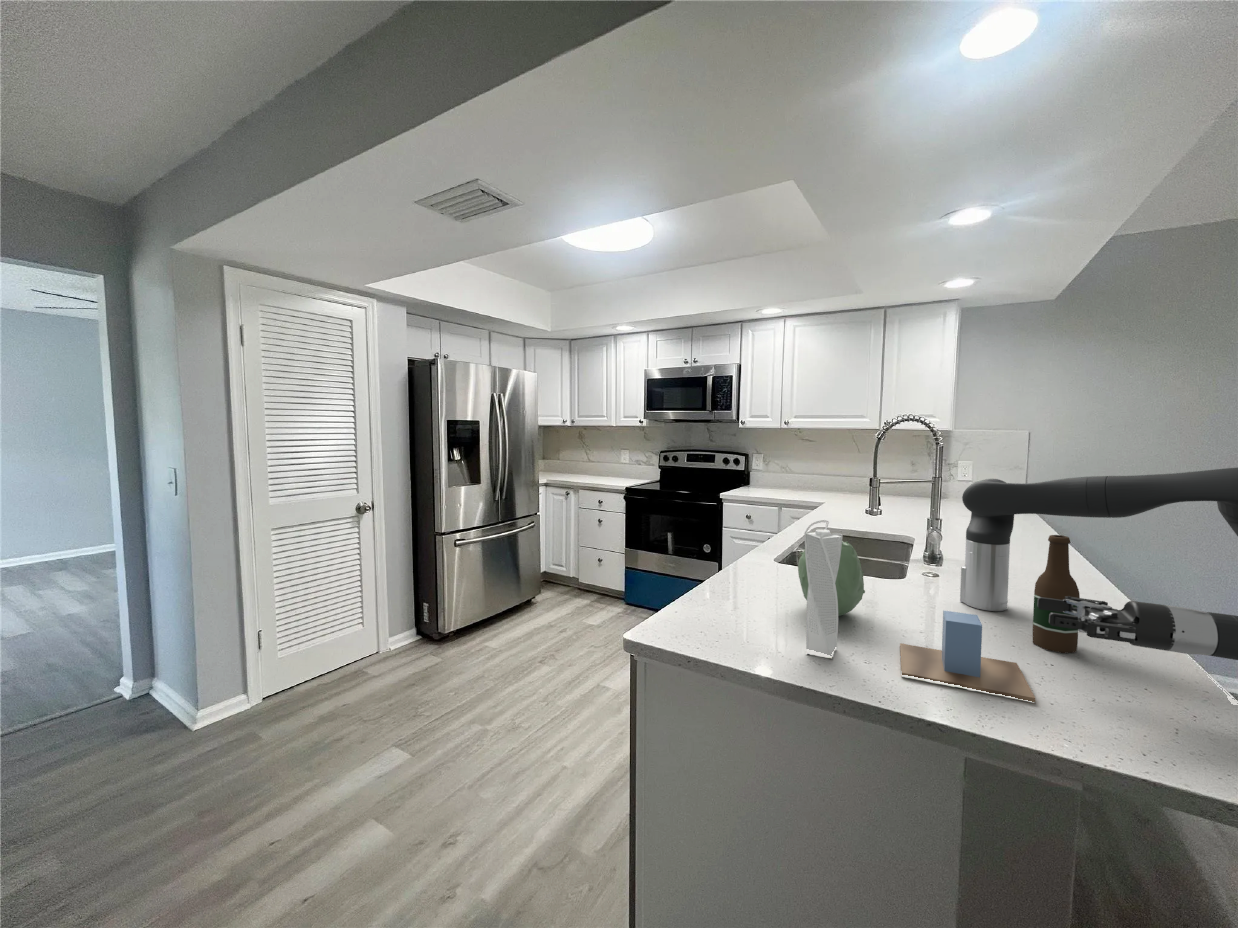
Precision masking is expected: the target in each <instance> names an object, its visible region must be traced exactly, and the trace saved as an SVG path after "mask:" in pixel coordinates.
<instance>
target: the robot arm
mask: <svg viewBox="0 0 1238 928" xmlns="http://www.w3.org/2000/svg"><path fill="white" fill-rule="evenodd" d="M961 499H962V503H963V505H964V507H965V508H966V509H967V511H969V512H970V513H971V515H970V521H969V524H968V526H967V528H966V531H965V551H964V552H965V554H964V555H965V556H964V561H965V562H964V566H963V565H962V566H961V568H960V587H959V589H960V592H959V593H960V594H959V602H960V603H964V604H965V605H967V606H968V607H972V608H974V609H977V610H982V611H990V612H1003V611H1007V609H1008V603H1009V597H1008V596H1009V579H1010V578H1009V576H1010V575H1009V574H1010V572H1009V571H1010V555H1011V553H1010V549H1011V547H1010V546H1011V536H1012V533H1013V531H1014V524H1015V523H1014V521H1015V515H1031V514H1032V515H1046V516H1047V515H1049V516H1059V517H1074V518H1075V517H1077V518H1079V517H1080V518H1104V519H1105V518H1106V519H1107V518H1108V519H1110V518H1113V519H1116V518H1117V519H1119V518H1128V517H1132V516H1136V515H1140V514H1143V513H1146V512H1148V511H1152V510H1154V509H1157V508H1160V507H1163V506H1166V505H1172V504H1177V503H1186V502H1216V504H1217V509H1218V511H1219V513H1220V515H1221V516H1222V518H1224V520H1225V522H1226V523H1227V524H1228V526H1229V527H1230V529H1231V530H1232V531H1233V532H1234V534H1235V535H1236V536H1237V537H1238V467H1228V468H1227V467H1226V468H1216V469H1207V470H1198V471H1197V470H1196V471H1187V472H1176V473H1175V472H1174V473H1157V474H1156V473H1155V474H1141V475H1140V474H1139V475H1138V474H1137V475H1136V474H1135V475H1099V476H1098V475H1097V476H1095V475H1094V476H1092V475H1091V476H1078V477H1077V476H1076V477H1069V478H1061V479H1060V478H1059V479H1052V480H1045V481H1040V482H1039V481H1038V482H1030V483H1028V482H1027V483H1019V482H1018V483H1016V482H1015V483H1014V482H1010V483H1009V482H1006V481H1004V480H1001V479H998V478H986V479H982V480H979V481H975V482H973V483H971V484H970V485H968V486H967V488H966V489H965V490H964V491H963V494H962V497H961ZM1073 605H1076V606H1077V607H1078V608H1076V607H1073ZM1037 606H1038V608H1039V609H1042V610H1049V611H1056V612H1064V613H1068V614H1071V615H1067V614H1060V613H1050V614H1049V623H1050V625H1052V626H1057V627H1063V628H1070V629H1078V632H1079V633H1082V634H1086V636H1087V637H1089V638H1092V639H1093V638H1094V639H1100V640H1108V641H1115V642H1123V643H1128V644H1130V645H1131V646H1135V647H1141V648H1147V649H1155V650H1160V651H1166V652H1172V653H1179V654H1185V655H1193V656H1194V655H1197V656H1199V655H1200V656H1209V657H1214V658H1215V657H1216V658H1223V659H1227V660H1228V659H1229V660H1233V661H1238V615H1235V614H1228V613H1227V614H1226V613H1219V612H1218V613H1217V612H1211V611H1203V610H1197V609H1193V608H1190V607H1189V608H1188V607H1184V606H1174V605H1169V604H1166V605H1165V604H1160V603H1159V604H1158V603H1152V602H1143V601H1135V600H1129V601H1127V602H1125V604H1124V605H1123V608H1121V609H1117V608H1113V607H1112V606H1110V605H1109V603H1108V602H1107V601H1105V600H1096V599H1089V598H1082V597H1080V598H1076V597H1070V596H1065V599H1063V600H1059V599H1052V598H1044V597H1039V598H1038V601H1037Z"/></svg>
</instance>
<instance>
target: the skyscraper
mask: <svg viewBox="0 0 1238 928" xmlns="http://www.w3.org/2000/svg"><path fill="white" fill-rule="evenodd" d="M821 523H826V524H825V527H824V529H821V528H818V529H815V532H808V531H809V530H810V529H811V527H813V526H815V525H818V524H821ZM829 523H830V522H829V520H825V519H824V520H817V521H814V522H811V524H810V525H808V527H807V528H806V529H805V531H804V550H805V556H806V569H807V577H808V583H809V586H808V595H807V600H806V613H805V614H806V617H805V620H806V621H805V625H806V626H805V628H806V629H805V630H806V631H805V637H806V638H805V639H806V641H805V642H806V643H805V644H806V647H805V648H806V649H809V650H814V651H816V652H821V653H824V654H827V655H830V656H832V655H831V654H832V652H833V651H834V649H835V647H837V648H838V634H839V633H838V631H839V616H838V600H837V591H836V585H835V582H836V578H837V573H838V568H839V562H840V555H841V546H842V541H843V534H842V533H840V532H832V533H831V530H829V529H828V527H829ZM806 649H805V650H806Z"/></svg>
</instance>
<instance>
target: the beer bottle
mask: <svg viewBox="0 0 1238 928" xmlns="http://www.w3.org/2000/svg"><path fill="white" fill-rule="evenodd" d="M1047 541H1048V542H1049V546H1048V553H1047V560H1046V561H1047V562H1046V567H1045V569H1044V571H1043V573H1041V574H1040V575H1039V576H1038V578H1037V579H1036V581H1035V583H1034V591H1033V593H1034V594H1033V595H1034V596H1033V609H1032V610H1033V611H1032V613H1033V614H1032V615H1033V616H1032V643H1033V645H1035V646H1037V647H1039V648H1041V649H1043V650H1046V651H1048V652H1049V651H1051V652H1055V653H1058V654H1059V653H1060V654H1076V653H1077V650H1078V644H1079V643H1078V642H1079V631H1078V629H1070V628H1063V627H1057V626H1052V625H1050V623H1049V614H1050V613H1060V614H1067V615H1071V614H1068V613H1064V612H1056V611H1049V610H1042V609H1039V608H1038V606H1037V601H1038V598H1039V597H1044V598H1052V599H1059V600H1063V599H1065V596H1070V597H1076V598H1081V596H1080V594H1081V593H1080V591H1079V590H1080V589H1079V587H1078V585H1077V582H1076V580H1075V579H1074V578H1073V576H1072V575H1071V572H1070V550H1069V549H1070V548H1069V547H1070V545H1069V544H1071V539H1070V537H1069V536H1065V535H1060V534H1050V535H1049V536H1048V538H1047ZM1073 607H1076V608H1078V607H1077V606H1076V605H1073Z"/></svg>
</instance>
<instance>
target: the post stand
mask: <svg viewBox="0 0 1238 928" xmlns="http://www.w3.org/2000/svg"><path fill="white" fill-rule="evenodd" d="M899 653H900V656H901V658H900V672H901V671H902V675H908V676H914V677H918V678H924V679H930V680H933V681H940V682H944V683H948V684H954V685H960V686H962V687H967V688H972V689H976V690H981V691H986V692H989V693H995V694H1002V695H1005V696H1011V697H1015V698H1018V699H1023V700H1028V701H1032V702H1035V703H1036V696H1035V695H1034V693H1033V690H1032V689H1031V686H1030V685H1029V683H1028V682H1027V679H1026V677H1025V676H1024V674H1023V672H1022V671H1021V669H1020V667H1019V664H1018V663H1017V662H1013V661H1008V660H1001V659H995V658H989V657H984V656H981V670H980V677H975V676H969V675H964V674H958V673H953V672H947V671H944V667H943V662H942V649H937V648H930V647H925V646H924V647H923V646H918V645H914V644H913V645H912V644H907V643H902V642H901V643H899Z"/></svg>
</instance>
